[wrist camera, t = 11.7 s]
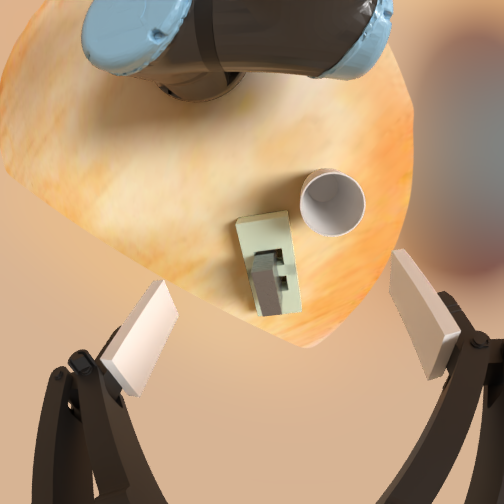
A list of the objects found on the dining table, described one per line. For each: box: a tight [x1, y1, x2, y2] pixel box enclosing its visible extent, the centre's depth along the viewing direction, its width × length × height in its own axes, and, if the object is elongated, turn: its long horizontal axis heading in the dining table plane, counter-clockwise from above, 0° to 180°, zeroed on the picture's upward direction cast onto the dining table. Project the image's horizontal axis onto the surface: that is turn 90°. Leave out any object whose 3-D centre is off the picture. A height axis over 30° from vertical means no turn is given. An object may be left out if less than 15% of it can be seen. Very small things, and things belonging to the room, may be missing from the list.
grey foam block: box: [251, 249, 283, 316], centre depth 43 cm, size 8×3×9 cm, turn 13°
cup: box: [300, 169, 365, 237], centre depth 35 cm, size 8×8×10 cm
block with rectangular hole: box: [235, 210, 302, 316], centre depth 46 cm, size 18×8×3 cm, turn 12°
